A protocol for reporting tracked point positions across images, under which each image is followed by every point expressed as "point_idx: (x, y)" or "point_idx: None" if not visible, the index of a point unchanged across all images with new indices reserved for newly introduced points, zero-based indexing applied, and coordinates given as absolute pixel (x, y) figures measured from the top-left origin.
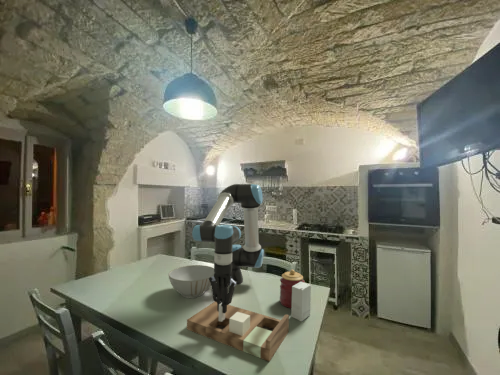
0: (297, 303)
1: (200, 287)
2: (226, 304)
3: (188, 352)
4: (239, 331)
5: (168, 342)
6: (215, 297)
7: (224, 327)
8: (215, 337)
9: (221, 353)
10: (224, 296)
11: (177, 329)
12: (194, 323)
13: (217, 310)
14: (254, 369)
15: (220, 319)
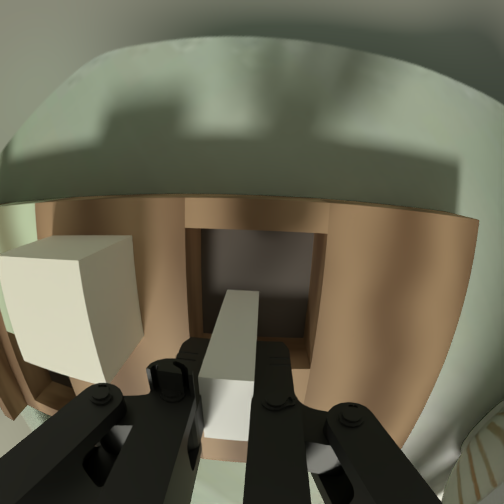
0: None
1: (489, 455)
2: (111, 389)
3: (307, 46)
4: (54, 239)
5: (442, 82)
6: (344, 458)
7: (257, 326)
8: (233, 195)
9: (143, 123)
10: (104, 488)
11: (476, 190)
12: (426, 212)
13: (286, 346)
14: (14, 139)
15: (236, 297)
